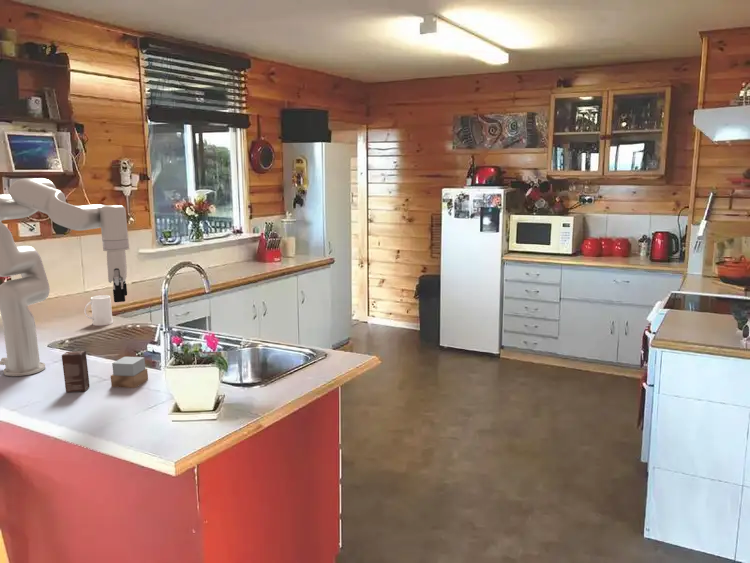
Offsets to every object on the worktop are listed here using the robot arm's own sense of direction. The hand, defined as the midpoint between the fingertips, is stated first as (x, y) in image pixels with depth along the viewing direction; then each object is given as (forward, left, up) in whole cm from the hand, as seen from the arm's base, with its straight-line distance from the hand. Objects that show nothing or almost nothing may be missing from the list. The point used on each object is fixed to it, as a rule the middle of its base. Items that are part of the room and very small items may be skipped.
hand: (120, 298), depth 200 cm
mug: (-54, +66, -28) cm, 90 cm away
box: (-11, -10, -28) cm, 31 cm away
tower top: (+2, -2, -24) cm, 24 cm away
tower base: (+2, -2, -28) cm, 28 cm away
